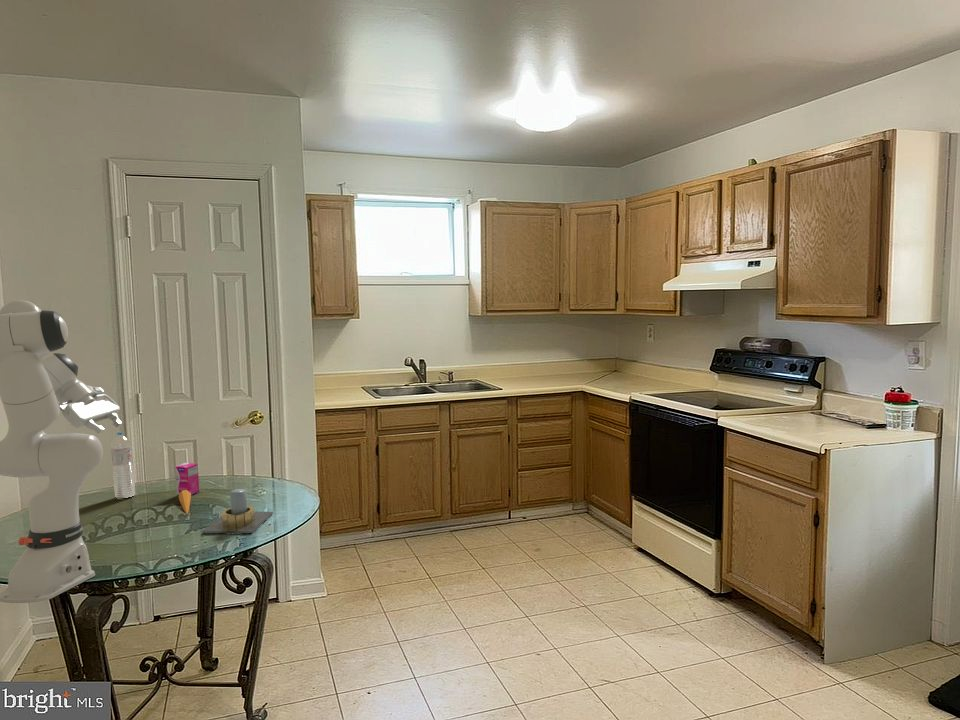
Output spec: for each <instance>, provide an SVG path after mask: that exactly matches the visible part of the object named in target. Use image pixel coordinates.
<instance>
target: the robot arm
mask: <svg viewBox="0 0 960 720" xmlns="http://www.w3.org/2000/svg"><path fill="white" fill-rule="evenodd" d="M68 338H69V328H68V325H67V323H66V321H65V319H64V318H63V317H62V315H61V314H60V313H58V312H56V311H53V310H44V309H43V310H42V309H41V308H40V307H39V306H37V305H36V303H34V302H31V301H29V300H25V299H15V300H12V301H9V302H7V303H5V304H4V305H3V306H2V307H1V308H0V400H1V402H2V405H3V408H4V412H5V415H6V419H7V423H8V430H7V434H6V435H5V437H3V439H1V440H0V476H3V477H9V478H18V479H19V478H21V479H23V478H25V479H26V478H38V477H48V479H49V480H48V481H49V482H48V486H47V487H45V488H43V489H42V490H40V491H38V492H37V493H35V494H34V495H33V496H31V498H30V500H29V502H28V507H27V508H28V516H29V526H30V529H29V531H28V534H27V537H25V536H21V537H19V538H18V545H20V546H26V549H25V550H24V551H23V553H22V554H21V556H20V557H19V558H18V560H17V562H16V563H15V564H14V566H13V567H12V569H11V570H10V571H9V573H8V576H7V577H8V580H7V588H6V589H4V590H3V591H1V593H0V603H7V604H28V603H31V604H32V603H38V602H44V601H48V600H52V599H53V598H55V597H56V596H59V595H60V594H62V593H63V594H64V593H65V592H67V591H68V590H71V589H72V588H74V587H76V586H78V585H80V584H82V583H84V582H86V581H88V580H89V579H91V578H93V577H95V576H96V573H95V570H93V569H92V567H91V566H92V565H91V562H90V556H89V551H88V547H87V545H86V544H85V541H84V539H83V537H82V535H83V534H84V533H83V525H82V524H83V523H82V520H80V511H79V510H80V509H79V506H80V504H79V497H80V496H79V495H80V490H81V486H82V485H83V483H84V481H85V480H86V478H87V477H88V476H89V475H90V474H91V472H93V471H95V469H96V468H98V466H99V465H100V464H101V462H102V460H103V457H104V448H103V445H102V442H101V440H99V438H98V437H97V436H95V435H94V434H87V433H79V432H78V433H77V432H65V433H55V434H54V433H46V432H45V431H44V430H46V429H48V428H49V427H50V426H52V425H53V424H55V422H56V421H57V420H58V418H59V416H60V411H61V414H62V416H63V417H64V418H65V419H66V421H68V422H69V424H70V425H72V427H74V428H78V429H79V428H81V427H86V428H87V429H90V430H92V431H94V432H95V433H97V435H98V434H102V433H103V432H104V431H105V428H104V427H103V426H102V425H98V424H96V423H98V422H101V421H104V420H108V419H109V420H110V421H112V423H113V424H112V425H113V426H115V428H119V427H121V426H122V424H123V422H122V421H121V420H120V418H119V416H118V414H119V412H120V411H121V407H120V405H119V404H118V403H117V402H116V401H115V400H114V399H113V398H112V397H110V396H109V395H108V394H106V393H105V390H104V389H103V388H102V387H98V386H91V385H86V383H85V382H83V381H82V380H80V379H78V378H77V377H78V371H79V366H78V365H77V364H76V363H74V362H73V361H72V360H71V359H70V357H68V356H67V355H66V354H64V353H60V352H55V351H58V350H60V349H62V348H64V347H65V346H66V344H67V342H68ZM50 352H54V353H52V354H50V355H48V354H49V353H50Z"/></svg>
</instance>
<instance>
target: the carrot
mask: <svg viewBox="0 0 960 720" xmlns="http://www.w3.org/2000/svg"><path fill="white" fill-rule="evenodd" d="M191 499H192V496H191V493H190V492H189V491H187V490H183V491H181V492H180V493H179V496H178V500H179V502H180V503H179V504H180V505H181V507H182V509H183V511H184V513H185V514H186V515H188V513H189V510H190V506H191Z"/></svg>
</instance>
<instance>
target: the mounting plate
mask: <svg viewBox="0 0 960 720" xmlns="http://www.w3.org/2000/svg"><path fill="white" fill-rule="evenodd" d="M254 512H255V520H254V521H253V522H251V523H248V524H246V525H241V526H225V525H223V523H222V515H221V516H220V517H219V518H217V519H216V520H215V521H213V522H211V524H209V525H208V526H207V527H205V528H204V529H203V530H201V534H202V533H252V534H253V533H254V532H256V531H257V530H258V529H259V528H260V527H261V526H262V525H263V524H264V523H265V522H266V521H265V520H267V519H268V518H269V517H270V516H271V515H272V514H273V515H274V512H273V511H254ZM273 515H272V516H273ZM272 516H271V517H272ZM271 517H270V518H271ZM270 518H269V519H270ZM269 519H268V520H269ZM264 521H265V522H264ZM263 522H264V523H263ZM262 523H263V524H262ZM261 524H262V525H261ZM260 525H261V526H260ZM259 526H260V527H259ZM258 527H259V528H258ZM257 528H258V529H257ZM256 529H257V530H256Z"/></svg>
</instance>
